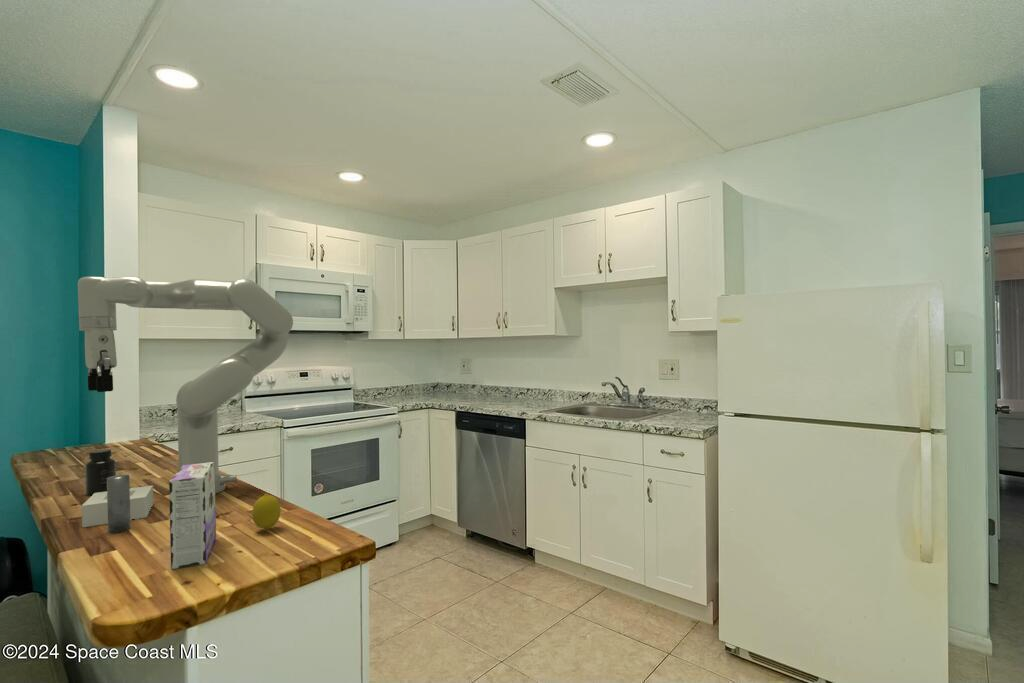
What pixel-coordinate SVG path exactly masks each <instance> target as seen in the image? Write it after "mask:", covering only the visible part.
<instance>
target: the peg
mask: <svg viewBox="0 0 1024 683" xmlns="http://www.w3.org/2000/svg"><path fill="white" fill-rule="evenodd" d="M107 507H108V524H107V533H108V534H112V535H113V534H120V533H123V532H127V531H130V530H131V528H132V527H131V520H130V474H128V473H126V474H118V475H117V474H116V476H111V477H108V478H107Z"/></svg>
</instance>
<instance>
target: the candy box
mask: <svg viewBox="0 0 1024 683" xmlns="http://www.w3.org/2000/svg"><path fill="white" fill-rule="evenodd" d="M168 482H169V483H168V484H169V485H168V486H169V490H168V492H169V529H170V532H169V534H170V535H169V537H170V546H169V547H170V570H175V569H181V568H189V567H194V566H201V565H202V566H203V565H205V564H207V562H208V559H209V556H210V555H211V552H212V550H213V548H214V544H215V541H216V539H217V516H216V515H217V514H216V513H217V512H216V494H215V476H214V462H208V463H199V464H190V465H183V466H182V468H181V469H180V470H179V469H178V471H177V472H176V473H175V474H174V475H173V476H172V478H171V479H170V480H169V481H168Z"/></svg>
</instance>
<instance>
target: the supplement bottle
mask: <svg viewBox="0 0 1024 683" xmlns="http://www.w3.org/2000/svg"><path fill="white" fill-rule="evenodd" d="M88 457H89V459H90V460H89V461H88V462H87V463H86V464H85V466H84V468H85V472H84V473H85V494H86V495H87V496H89V495H93V494H94V493H98V492H106V491H107V478H108V477H111V476H116V475H117V465H116V464H117V463H116V460H115V459H114V458H112V449H105V448H103V449H97V450H92V451H89V456H88Z"/></svg>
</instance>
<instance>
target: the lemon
mask: <svg viewBox="0 0 1024 683" xmlns="http://www.w3.org/2000/svg"><path fill="white" fill-rule="evenodd" d="M251 513H252V522H253V523H254V524H255V525H256V526H257V528H260V529H263V530H265V531H269V530H270V529H271V528H272V527H274V526H275V525H276V524H277V523H278V521H279V519H280V517H281V505H280V502H279V500H278V498H276V497H275V496H273V495H271V494H268V493H264V494H263V496H261V497H259V498H257V500H256V501H255V502H254V505H253V507H252V512H251Z"/></svg>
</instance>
